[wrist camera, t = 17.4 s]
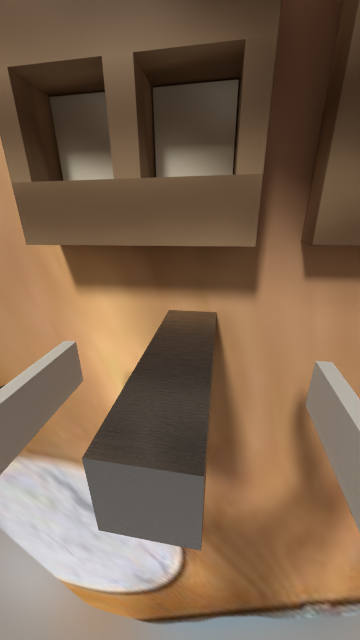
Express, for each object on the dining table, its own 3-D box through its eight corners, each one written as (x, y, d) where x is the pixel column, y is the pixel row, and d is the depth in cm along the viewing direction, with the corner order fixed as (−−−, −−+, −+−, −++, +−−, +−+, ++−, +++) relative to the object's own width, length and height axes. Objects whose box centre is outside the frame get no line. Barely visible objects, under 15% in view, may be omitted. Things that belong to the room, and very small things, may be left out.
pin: (214, 354, 19) (200, 550, 8) (170, 351, 19) (98, 530, 8) (216, 312, 17) (204, 476, 6) (169, 310, 18) (82, 457, 7)
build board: (249, 241, 15) (255, 246, 12) (58, 240, 17) (26, 244, 14) (274, -18, 11) (291, -97, 8) (16, 21, 13) (-40, -32, 10)
